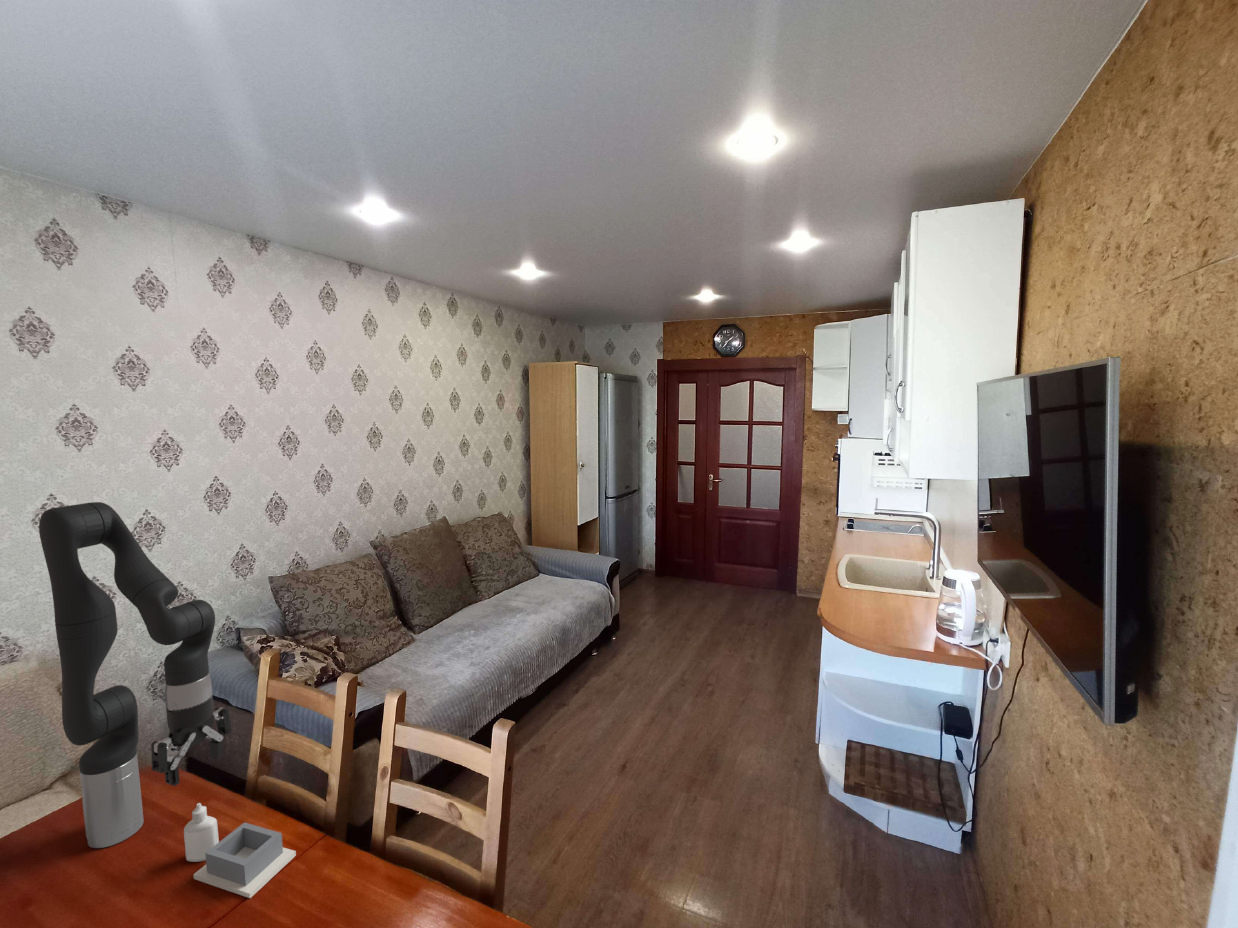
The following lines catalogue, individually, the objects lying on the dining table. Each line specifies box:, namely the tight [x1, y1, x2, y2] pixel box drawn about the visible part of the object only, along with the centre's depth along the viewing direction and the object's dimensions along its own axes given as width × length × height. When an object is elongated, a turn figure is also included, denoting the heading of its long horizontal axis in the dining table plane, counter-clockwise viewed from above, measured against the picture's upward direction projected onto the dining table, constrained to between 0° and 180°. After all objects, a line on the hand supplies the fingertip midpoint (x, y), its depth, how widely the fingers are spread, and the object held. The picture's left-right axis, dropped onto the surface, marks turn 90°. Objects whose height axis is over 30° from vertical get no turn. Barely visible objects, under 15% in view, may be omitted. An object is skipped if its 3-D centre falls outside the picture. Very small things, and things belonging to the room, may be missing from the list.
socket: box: [193, 822, 297, 899], centre depth 112 cm, size 15×10×6 cm
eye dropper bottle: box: [183, 802, 220, 863], centre depth 114 cm, size 4×6×12 cm
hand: (195, 770), depth 112 cm, fingers open, 8 cm apart
